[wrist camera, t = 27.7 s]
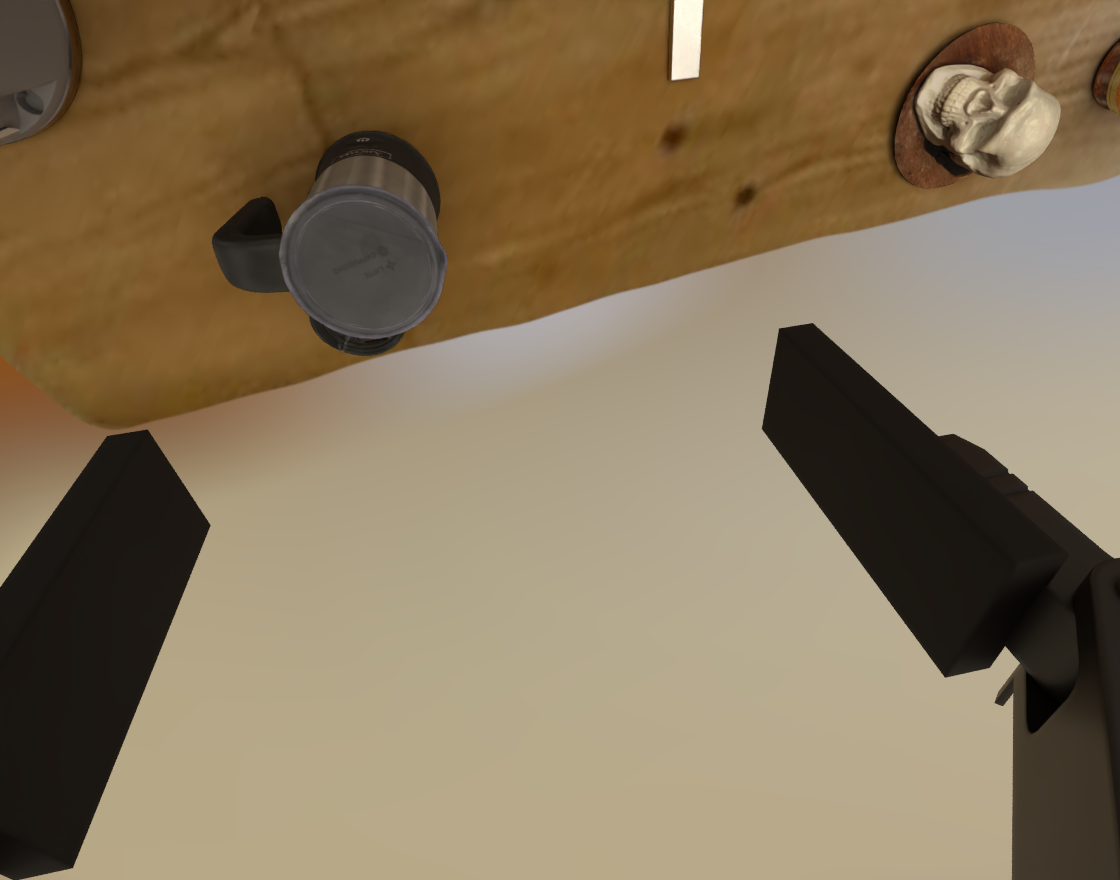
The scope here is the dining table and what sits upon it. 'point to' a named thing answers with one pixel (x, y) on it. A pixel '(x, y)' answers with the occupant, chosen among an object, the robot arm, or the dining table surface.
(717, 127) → the dining table surface
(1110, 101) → the sauce bottle
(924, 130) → the skull
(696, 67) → the fork
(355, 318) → the milk frother
